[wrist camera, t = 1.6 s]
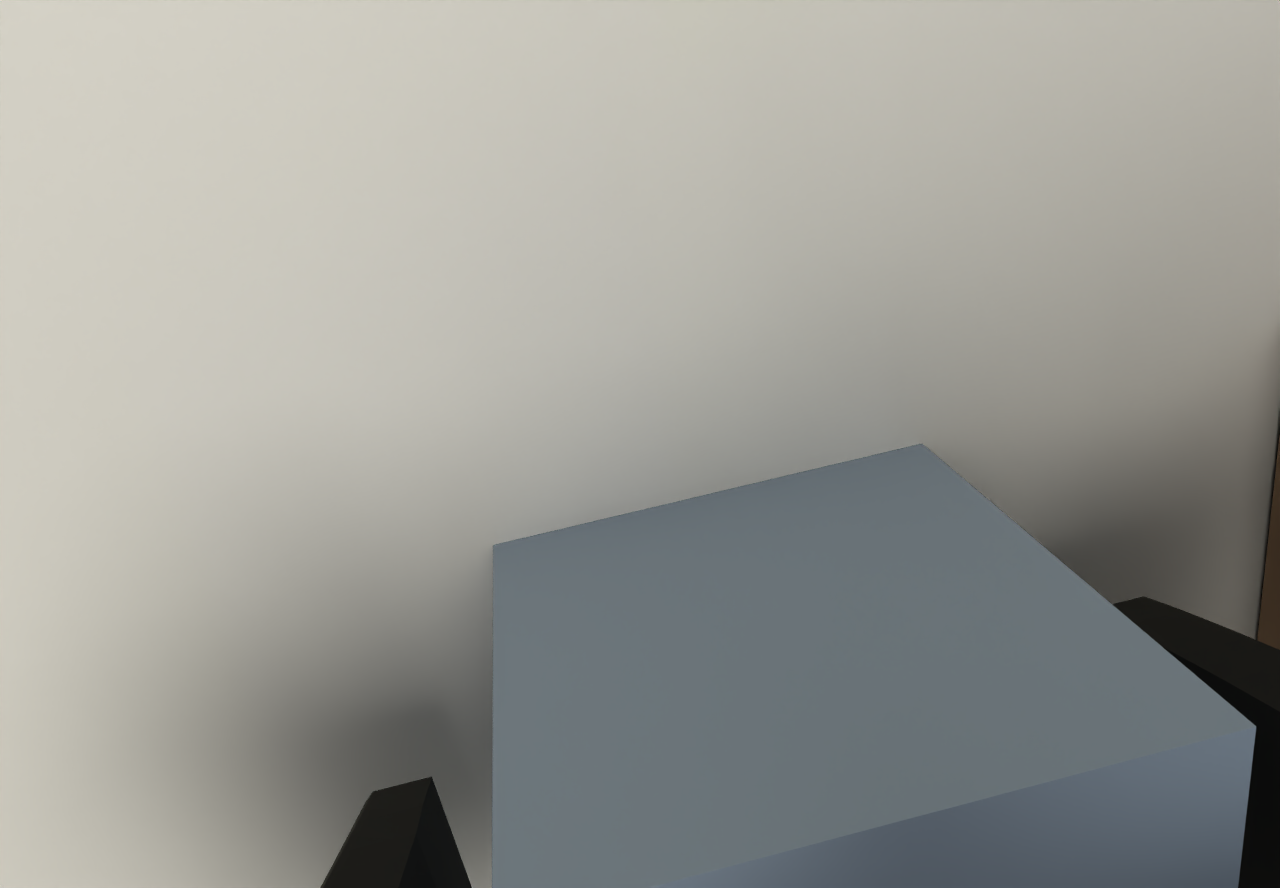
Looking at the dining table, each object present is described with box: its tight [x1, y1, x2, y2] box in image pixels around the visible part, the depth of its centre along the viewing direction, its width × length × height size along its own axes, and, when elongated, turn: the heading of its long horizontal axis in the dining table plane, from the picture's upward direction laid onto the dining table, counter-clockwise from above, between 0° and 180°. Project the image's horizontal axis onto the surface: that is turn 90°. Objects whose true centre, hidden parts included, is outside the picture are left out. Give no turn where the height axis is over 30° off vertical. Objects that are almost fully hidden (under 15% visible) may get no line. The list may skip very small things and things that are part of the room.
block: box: [492, 444, 1256, 888], centre depth 9 cm, size 5×5×5 cm
